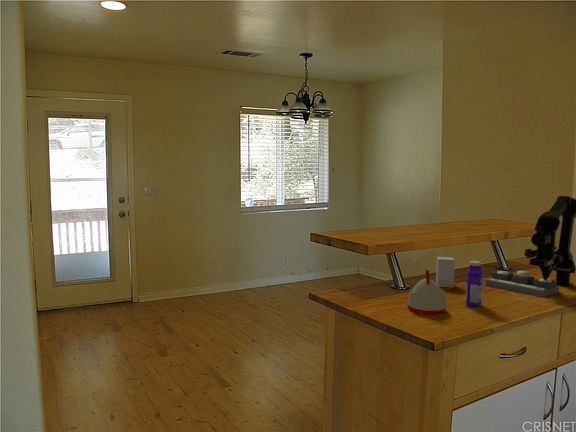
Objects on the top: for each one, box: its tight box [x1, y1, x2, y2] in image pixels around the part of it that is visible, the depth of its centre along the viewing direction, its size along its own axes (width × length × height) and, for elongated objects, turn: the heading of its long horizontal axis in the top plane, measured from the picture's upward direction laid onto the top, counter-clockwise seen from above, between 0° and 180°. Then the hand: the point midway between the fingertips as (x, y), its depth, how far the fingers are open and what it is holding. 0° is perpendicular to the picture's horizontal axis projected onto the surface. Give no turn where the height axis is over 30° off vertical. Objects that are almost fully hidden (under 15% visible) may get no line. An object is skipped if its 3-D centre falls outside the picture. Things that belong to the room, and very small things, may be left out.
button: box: [496, 270, 509, 275], centre depth 226 cm, size 5×5×2 cm
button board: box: [485, 271, 560, 298], centre depth 218 cm, size 14×26×5 cm, turn 38°
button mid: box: [516, 270, 531, 279], centre depth 218 cm, size 5×5×2 cm
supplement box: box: [435, 256, 456, 288], centre depth 222 cm, size 7×7×13 cm
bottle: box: [465, 260, 484, 308], centre depth 190 cm, size 7×6×17 cm
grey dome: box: [407, 269, 447, 316], centre depth 185 cm, size 14×14×15 cm
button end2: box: [538, 278, 553, 283], centre depth 211 cm, size 5×5×2 cm
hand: (545, 279), depth 211 cm, fingers closed, pressing on button end2
